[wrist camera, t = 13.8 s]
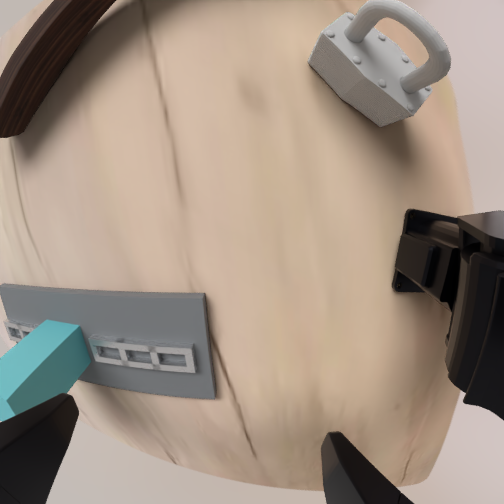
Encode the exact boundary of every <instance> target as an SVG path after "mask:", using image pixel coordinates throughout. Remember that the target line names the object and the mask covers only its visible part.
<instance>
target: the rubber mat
mask: <svg viewBox="0 0 504 504" xmlns="http://www.w3.org/2000/svg"><path fill="white" fill-rule="evenodd" d="M0 295H1V299H2V302H3V305H4V309H5V312H6V315H7V318H9V319H13V320H18V321H22V322H26V323H31V324H36V325H40V324H42V323H43V322H44V321H45V320H52V321H57V322H63V323H69V324H74V325H80V328H81V331H82V335H83V338H84V341H85V344H86V347H87V351H88V354H89V356H90V359H91V363H90V364H89V365H88V367H87V368H86V369H85V370H84V372H83V373H82V374H81V375H80V377H79V378H78V380H82V381H86V382H90V383H94V384H99V385H104V386H108V387H114V388H119V389H124V390H130V391H136V392H143V393H150V394H157V395H166V396H175V397H186V398H199V399H215V397H216V386H215V379H214V372H213V364H212V356H211V348H210V339H209V330H208V321H207V311H206V301H205V293H159V292H124V291H100V290H81V289H64V288H50V287H37V286H25V285H14V284H2V285H0ZM14 331H15V333H17V334H20V332H19V330H18V329H15V328H14ZM29 333H30V332H28V334H29ZM92 334H95V335H102V336H110V337H119V338H128V339H139V340H151V341H164V342H182V343H193V344H194V351H195V357H196V363H197V369H196V372H195V373H188V372H174V371H163V370H153V369H144V368H136V367H129V366H122V365H115V364H109V363H103V362H97V361H95V358H94V355H93V352H92V349H91V346H90V343H89V340H88V338H89V337H90V336H91V335H92ZM17 343H18V342H17ZM101 348H102V351H103V352H107V353H114V354H120V353H119V349H117V348H110V347H103V346H101ZM130 353H131V356H137V357H146V358H151V355H150V352H143V351H134V350H130ZM161 356H162V359H168V360H182V361H186V359H185V355H181V354H166V353H161Z"/></svg>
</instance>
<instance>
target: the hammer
mask: <svg viewBox="0 0 504 504" xmlns="http://www.w3.org/2000/svg"><path fill="white" fill-rule="evenodd" d="M115 1H116V0H54V1H53V2H52V3H51V4H50V5H49V7H48V8H47V9H46V10H45V11H44V12H43V14H42V15H41V16H40V17H39V18H38V20H37V21H36V22H35V23H34V25H33V26H32V27H31V29H30V30H29V31H28V33H27V34H26V35H25V37H24V38H23V40H22V41H21V42H20V44H19V45H18V47H17V48H16V50H15V51H14V53H13V54H12V56H11V57H10V59H9V61H8V63H7V65H6V67H5V69H4V71H3V73H2V75H1V77H0V138H8V137H11V136H15V135H19V134H20V133H22V132H24V130H25V129H26V127H27V125H28V123H29V122H30V120H31V119H32V117H33V115H34V114H35V112H36V111H37V109H38V107H39V106H40V104H41V102H42V101H43V99H44V97H45V96H46V94H47V92H48V91H49V89H50V88H51V86H52V85H53V83H54V82H55V80H56V79H57V77H58V76H59V74H60V72H61V71H62V69H63V68H64V66H65V65H66V63H67V62H68V60H69V59H70V57H71V56H72V54H73V53H74V51H75V50H76V48H77V47H78V46H79V44H80V43H81V42H82V40H83V39H84V38H85V36H86V35H87V34H88V32H89V31H90V30H91V29H92V27H93V26H94V25H95V24H96V22H97V21H98V20H99V19H100V18H101V17H102V15H103V14H104V13H105V12H106V11H107V10H108V9H109V8H110V6H111V5H112V4H113V3H114V2H115Z"/></svg>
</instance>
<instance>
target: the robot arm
mask: <svg viewBox="0 0 504 504" xmlns="http://www.w3.org/2000/svg"><path fill="white" fill-rule="evenodd" d="M411 213H413V217H412V218H411V217H410V215H411ZM395 267H396V269H395V274H394V278H393V283H392V287H393V289H394V290H395V291H397V292H426V293H427V294H429V295H430V296H431V297H433V298H434V299H435V300H437V301H438V302H439V303H440V304H442V305H443V306H444V307H446V308H447V309H448V310H449V311H451V312H452V316H451V321H450V327H449V332H448V334H447V336H446V340H445V343H446V346H447V351H446V357H445V362H446V365H447V369H448V371H449V374H448V378H449V379H450V380H451V382H452V383H453V384H454V385H455V386H456V387H458V388H459V389H460V390H462V391H463V392H465V393H466V395H465V397H464V399H463V402H464V403H465V404H469V405H476V406H480V407H482V408H485V409H487V410H490V411H491V412H493V413H495V414H496V415H497V416H499V417H500V418H501V419H503V420H504V211H492V212H485V213H478V214H471V215H465V216H458V217H457V218H454V217H450V216H445V215H440V214H436V213H431V212H426V211H421V210H416V209H408V210H407V211H406V213H405V220H404V226H403V232H402V235H401V238H400V243H399V249H398V254H397V259H396V264H395ZM398 283H400V285H399V286H398V287H397V284H398ZM78 416H79V410H78V407H77V405H76V403H75V400H74V398H73V397H72V396H71V395H69V394H67V393H60V394H58V395H56V396H54V397H52V398H50V399H48V400H46V401H44V402H42V403H40V404H38V405H36V406H34V407H32V408H30V409H28V410H26V411H24V412H22V413H20V414H17V415H15V416H13V417H11V418H9V419H7V420H5V421H2V422H0V504H46V501H47V498H48V495H49V493H50V490H51V487H52V485H53V482H54V479H55V477H56V475H57V472H58V470H59V467H60V465H61V463H62V460H63V457H64V456H65V453H66V451H67V449H68V446H69V443H70V441H71V437H72V434H73V431H74V428H75V425H76V422H77V419H78ZM321 456H322V472H323V486H324V492H325V497H326V502H327V504H414V503H413V502H412V501H410V500H409V499H408V498H407V497H406V496H405V495H404V494H402V493H401V492H400V491H399V490H398V489H397V488H396V487H395V486H394V485H393V484H392V483H391V482H390V481H389V480H388V479H387V478H386V477H385V476H384V475H382V474H381V473H380V472H379V471H378V470H377V469H376V468H375V467H374V466H373V465H372V464H371V463H370V462H369V461H368V460H367V459H366V458H365V457H364V456H363V455H362V454H361V453H360V452H359V451H358V450H357V449H356V447H355V446H354V445H353V444H352V443H351V442H350V441H349V440H348V439H347V438H346V437H345V436H344V435H343V434H342V433H341V432H339V431H336V432H329V433H327V435H326V437H325V439H324V441H323V444H322V446H321Z"/></svg>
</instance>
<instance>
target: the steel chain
mask: <svg viewBox="0 0 504 504" xmlns="http://www.w3.org/2000/svg"><path fill="white" fill-rule="evenodd" d="M4 324H5V327H6V330H7V332H8V335H9V338H10V340H13V341H16V342H20V341H21V340H22V339H23V338H24V337H26V336H27V335H28V332H32V331H33V330H34V329H35V328H37V327H38V326H39V325H36V324H31V323H26V322H22V321H18V320H13V319H9V318H7V319H6V320H4ZM14 328H15V329H18V330H19V332H20V334H17V333H15V331H14ZM88 340H89V343H90V346H91V349H92V352H93V355H94V358H95V361H97V362H103V363H109V364H115V365H122V366H129V367H136V368H144V369H153V370H163V371H174V372H188V373H195V372H196V369H197V363H196V357H195V351H194V344H193V343H182V342H164V341H151V340H139V339H128V338H119V337H110V336H102V335H95V334H92V335H91V336H90V337H89V338H88ZM101 346H103V347H110V348H117V349H119V353H120V354H114V353H107V352H103V351H102V348H101ZM130 350H134V351H143V352H150V355H151V358H146V357H137V356H131V353H130ZM161 353H166V354H181V355H185V359H186V361H182V360H168V359H162V356H161Z"/></svg>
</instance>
